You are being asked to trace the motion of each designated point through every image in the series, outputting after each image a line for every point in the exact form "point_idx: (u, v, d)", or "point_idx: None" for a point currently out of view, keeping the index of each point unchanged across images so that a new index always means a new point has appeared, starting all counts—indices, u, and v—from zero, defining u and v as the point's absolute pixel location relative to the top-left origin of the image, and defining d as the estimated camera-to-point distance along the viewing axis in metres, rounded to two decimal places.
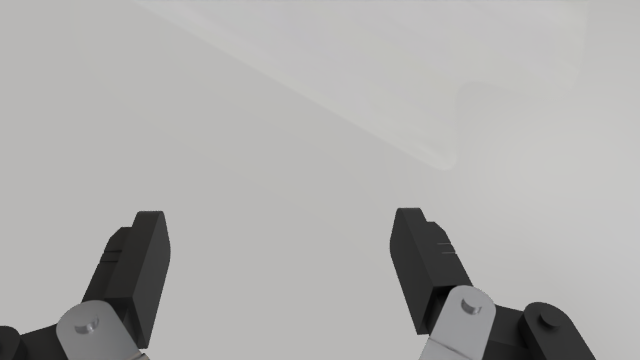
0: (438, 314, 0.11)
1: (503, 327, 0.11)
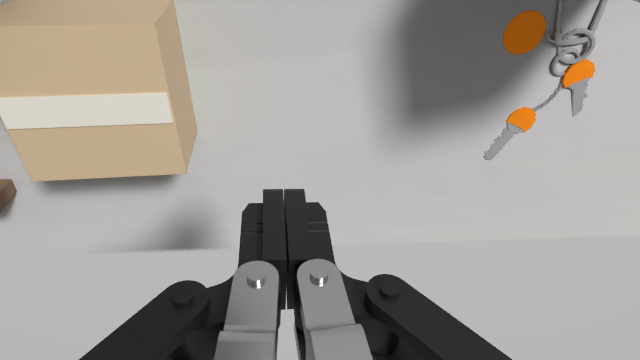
0: (295, 287, 0.12)
1: (350, 298, 0.11)
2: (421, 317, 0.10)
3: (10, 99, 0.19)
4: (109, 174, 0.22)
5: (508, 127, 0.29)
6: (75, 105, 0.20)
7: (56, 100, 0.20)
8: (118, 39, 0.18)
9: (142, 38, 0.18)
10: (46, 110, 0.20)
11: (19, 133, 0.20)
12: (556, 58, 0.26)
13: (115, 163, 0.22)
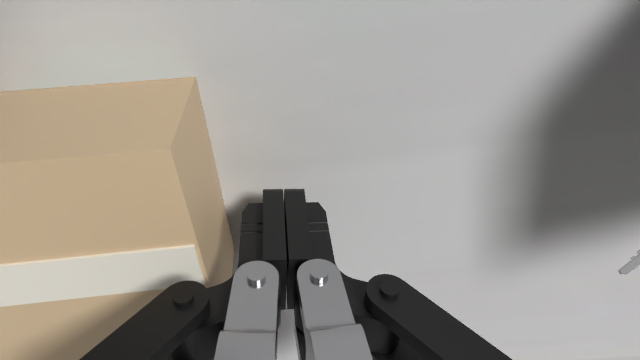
0: (295, 287, 0.12)
1: (350, 298, 0.11)
2: (421, 317, 0.10)
3: None
4: None
5: None
6: (44, 273, 0.12)
7: (12, 270, 0.12)
8: (107, 176, 0.10)
9: (150, 171, 0.10)
10: None
11: None
12: None
13: None
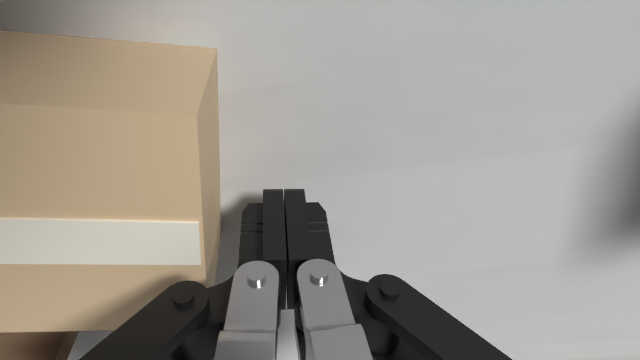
0: (295, 287, 0.12)
1: (350, 298, 0.11)
2: (421, 317, 0.10)
3: None
4: (80, 327, 0.13)
5: None
6: (28, 232, 0.11)
7: None
8: (122, 135, 0.10)
9: (170, 137, 0.10)
10: None
11: None
12: None
13: (91, 313, 0.13)
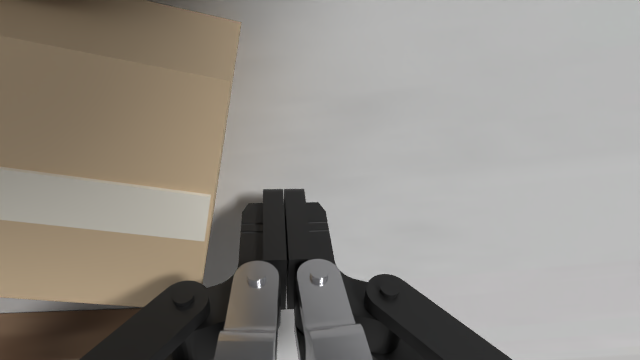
0: (295, 287, 0.12)
1: (350, 298, 0.11)
2: (421, 317, 0.10)
3: None
4: (61, 297, 0.12)
5: None
6: (25, 186, 0.10)
7: None
8: (150, 93, 0.09)
9: (198, 101, 0.09)
10: None
11: None
12: None
13: (76, 283, 0.12)
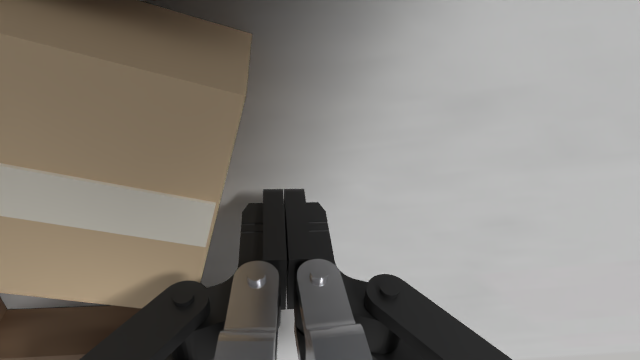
0: (295, 287, 0.12)
1: (350, 298, 0.11)
2: (421, 317, 0.10)
3: None
4: (57, 294, 0.12)
5: None
6: (33, 186, 0.10)
7: None
8: (165, 102, 0.09)
9: (212, 112, 0.10)
10: None
11: None
12: None
13: (74, 281, 0.12)
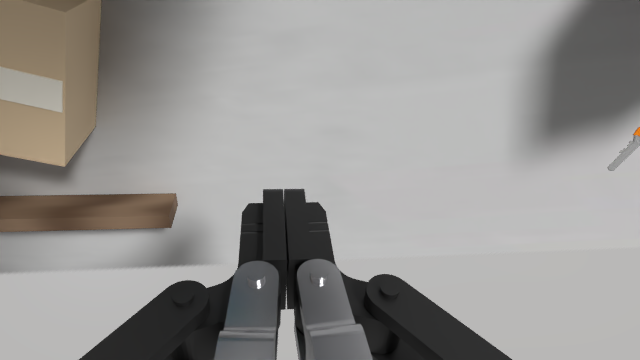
0: (295, 287, 0.12)
1: (350, 298, 0.11)
2: (421, 317, 0.10)
3: None
4: None
5: (634, 139, 0.31)
6: None
7: None
8: (21, 15, 0.18)
9: (49, 22, 0.18)
10: None
11: None
12: None
13: None
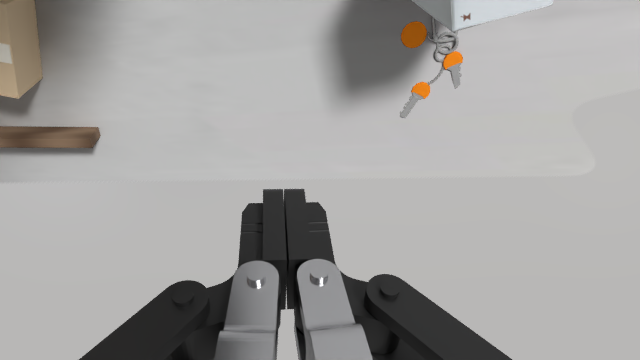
0: (295, 287, 0.12)
1: (349, 298, 0.11)
2: (421, 317, 0.10)
3: None
4: None
5: (413, 95, 0.45)
6: None
7: None
8: None
9: None
10: None
11: None
12: (436, 50, 0.42)
13: None
